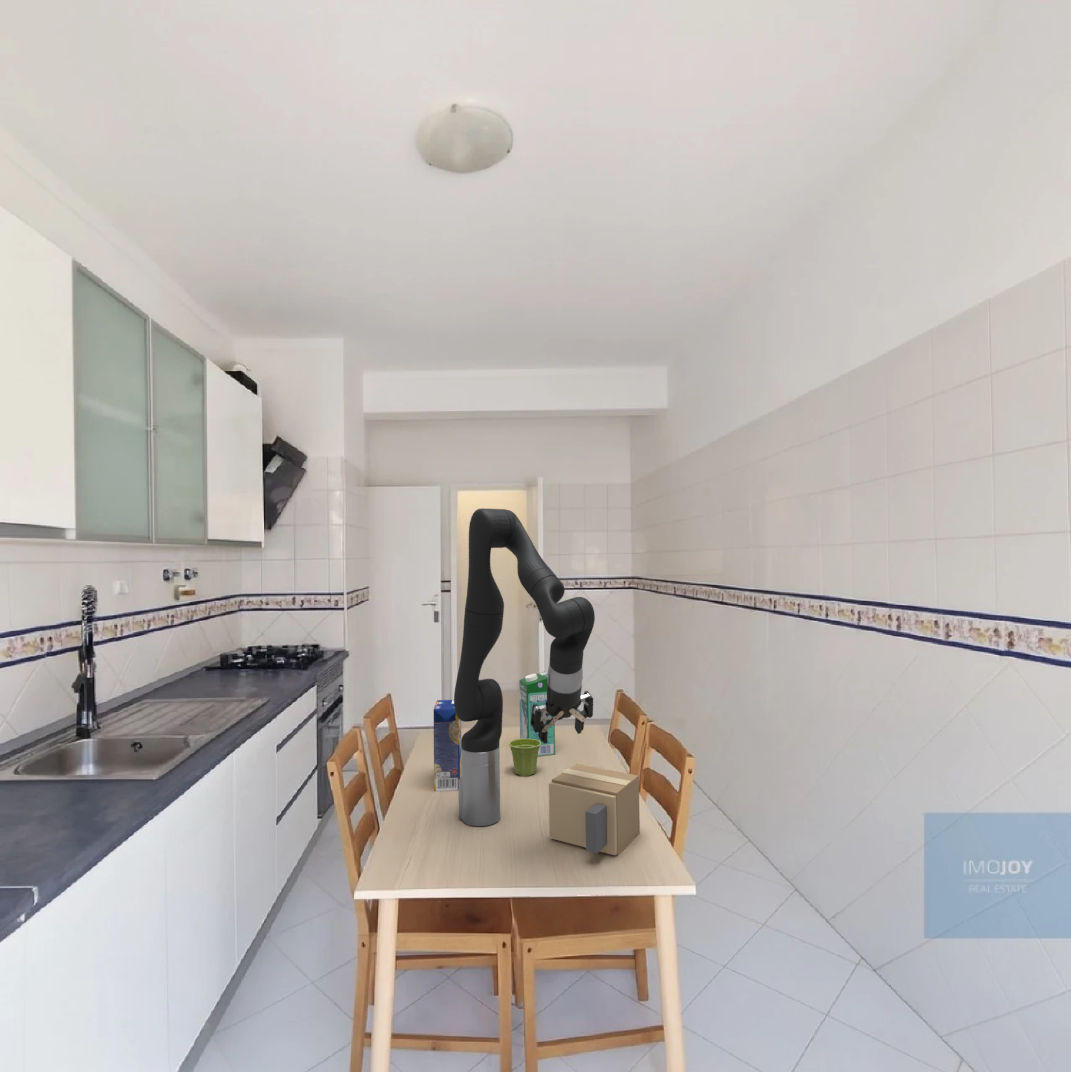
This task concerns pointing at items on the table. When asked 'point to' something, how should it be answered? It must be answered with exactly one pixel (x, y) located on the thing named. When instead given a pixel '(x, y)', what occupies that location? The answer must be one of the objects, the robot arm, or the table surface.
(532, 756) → the plant pot
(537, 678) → the milk carton
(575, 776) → the carton
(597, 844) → the front flap
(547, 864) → the table surface
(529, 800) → the table surface
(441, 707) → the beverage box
